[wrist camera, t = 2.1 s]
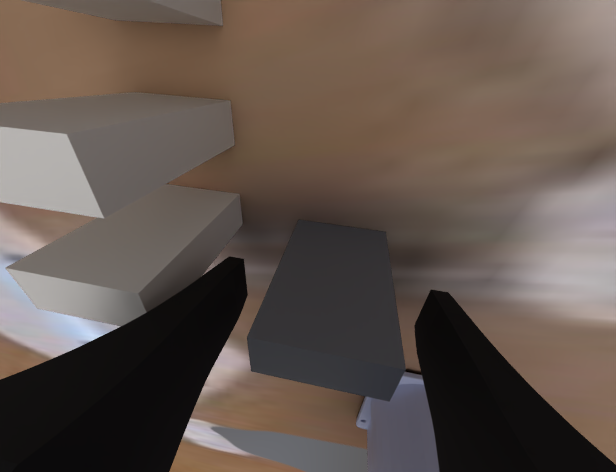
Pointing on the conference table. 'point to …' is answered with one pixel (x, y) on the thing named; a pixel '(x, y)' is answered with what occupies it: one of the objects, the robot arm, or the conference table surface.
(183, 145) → the tile
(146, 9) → the tile
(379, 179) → the conference table surface
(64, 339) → the conference table surface
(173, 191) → the tile
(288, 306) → the tile
